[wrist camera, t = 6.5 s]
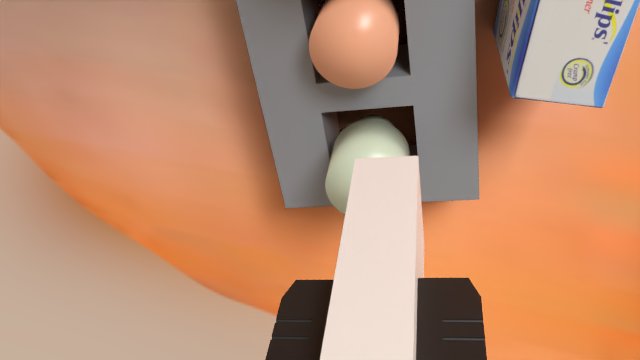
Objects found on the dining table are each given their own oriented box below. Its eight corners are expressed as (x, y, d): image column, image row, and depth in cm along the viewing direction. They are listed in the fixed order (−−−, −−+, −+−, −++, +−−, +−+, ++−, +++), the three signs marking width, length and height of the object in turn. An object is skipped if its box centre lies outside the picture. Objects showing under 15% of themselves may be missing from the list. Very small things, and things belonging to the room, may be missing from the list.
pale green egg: (332, 106, 36) (319, 155, 31) (407, 100, 35) (404, 150, 30) (342, 168, 38) (331, 222, 34) (413, 164, 37) (411, 219, 33)
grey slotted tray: (218, -196, 31) (190, -190, 27) (463, -243, 28) (468, -243, 24) (297, 169, 42) (285, 208, 39) (474, 159, 40) (479, 199, 36)
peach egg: (318, -24, 34) (301, 9, 29) (397, -34, 33) (392, -1, 28) (330, 51, 36) (316, 92, 32) (404, 43, 35) (401, 85, 31)
